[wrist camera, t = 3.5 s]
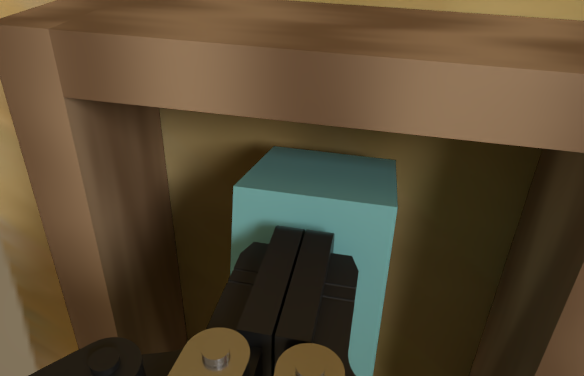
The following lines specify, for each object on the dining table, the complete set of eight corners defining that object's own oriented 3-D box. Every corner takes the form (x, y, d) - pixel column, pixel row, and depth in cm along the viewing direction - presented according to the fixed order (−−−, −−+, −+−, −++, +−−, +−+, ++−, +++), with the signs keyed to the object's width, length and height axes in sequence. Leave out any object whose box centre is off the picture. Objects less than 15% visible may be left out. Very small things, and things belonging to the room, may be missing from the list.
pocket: (650, 25, 14) (760, 88, 10) (477, 463, 26) (491, 583, 22) (96, -13, 17) (-16, 23, 13) (166, 400, 29) (121, 495, 25)
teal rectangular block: (395, 160, 17) (397, 207, 12) (350, 478, 21) (339, 599, 17) (274, 145, 17) (233, 186, 13) (254, 457, 22) (219, 569, 17)
